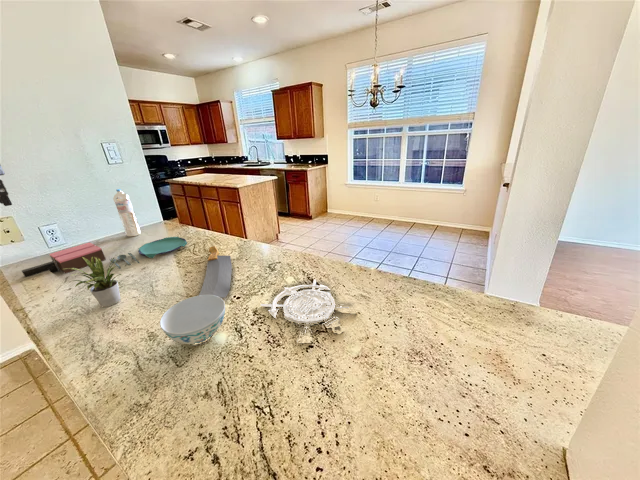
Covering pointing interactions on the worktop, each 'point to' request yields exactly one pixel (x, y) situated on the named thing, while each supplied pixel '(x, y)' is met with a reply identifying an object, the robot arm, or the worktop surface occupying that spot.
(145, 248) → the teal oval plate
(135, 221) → the water bottle
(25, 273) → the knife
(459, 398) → the worktop surface
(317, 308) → the pendant
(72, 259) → the two-tone red slab
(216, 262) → the cleaver
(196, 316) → the chinaware
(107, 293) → the house plant
